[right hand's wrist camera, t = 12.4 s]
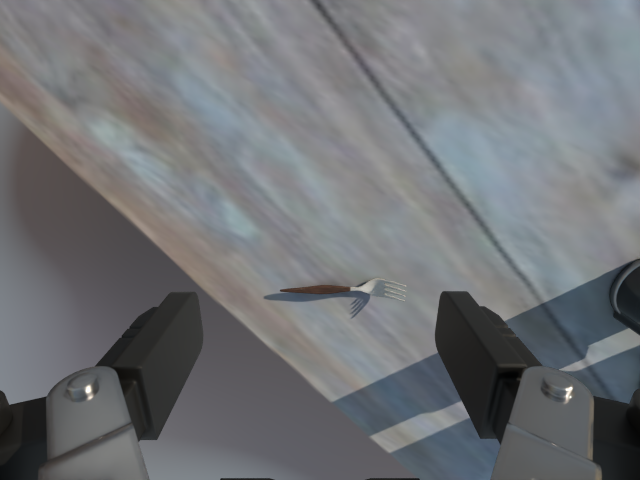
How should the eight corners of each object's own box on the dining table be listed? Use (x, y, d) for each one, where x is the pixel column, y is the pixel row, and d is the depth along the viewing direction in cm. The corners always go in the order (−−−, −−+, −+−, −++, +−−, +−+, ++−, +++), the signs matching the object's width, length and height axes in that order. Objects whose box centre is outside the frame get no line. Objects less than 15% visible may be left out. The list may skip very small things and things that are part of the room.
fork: (279, 279, 45) (278, 287, 43) (403, 277, 45) (406, 284, 43) (281, 297, 46) (279, 305, 44) (401, 295, 46) (405, 303, 44)
